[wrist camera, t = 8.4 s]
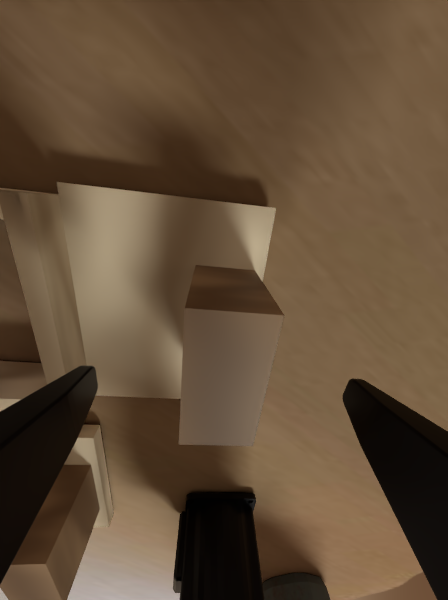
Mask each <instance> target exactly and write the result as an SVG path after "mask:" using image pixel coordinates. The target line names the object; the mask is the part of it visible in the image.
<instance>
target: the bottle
mask: <svg viewBox="0 0 448 600" xmlns="http://www.w3.org/2000/svg"><path fill="white" fill-rule="evenodd" d="M262 585H263V593H264V600H330V597H329V594H328V591H327V588H326V586H325V584H324V583H323V581H322V580H321V578H320V577H317V576H314V575H310V574H306V573H292V574H287V575H282V576H278V577H273V578H271V579H269V580H267V581H265V582H264V583H263V584H262Z"/></svg>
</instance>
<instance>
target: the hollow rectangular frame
mask: <svg viewBox="0 0 448 600" xmlns="http://www.w3.org/2000/svg"><path fill="white" fill-rule="evenodd" d="M113 514H114V512H113V506H112V499H111V493H110V486H109V480H108V474H107V467H106V461H105V454H104V448H103V442H102V435H101V429H100V425H83V427H82V429H81V432H80V434H79V436H78V438H77V441H76V443H75V445H74V447H73V448H72V450H71V452H70V454H69V456H68V458H67V460H66V462H65V464H64V465H63V467H62V469H61V471H60V473H59V475H58V477H57V479H56V481H55V482H54V484H53V486H52V488H51V490H50V492H49V494H48V496H47V498H46V499H45V501H44V503H43V505H42V507H41V509H40V511H39V513H38V515H37V516H36V518H35V520H34V522H33V524H32V526H31V528H30V530H29V532H28V533H27V535H26V537H25V539H24V541H23V543H22V545H21V547H20V549H19V550H18V552H17V554H16V556H15V558H14V560H13V562H12V564H11V566H10V567H9V569H8V571H7V573H6V575H5V577H4V579H3V581H2V583H1V584H0V588H1V589H2V591H3V592H4V594H5V595H6V596H7V598H8V599H9V600H67V598H68V595H69V592H70V590H71V587H72V584H73V581H74V579H75V576H76V573H77V570H78V568H79V565H80V562H81V559H82V557H83V554H84V551H85V548H86V546H87V543H88V540H89V537H90V535H91V532H92V529H93V527H109V526H110V523H111V520H112V517H113Z"/></svg>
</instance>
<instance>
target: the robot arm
mask: <svg viewBox="0 0 448 600" xmlns="http://www.w3.org/2000/svg"><path fill="white" fill-rule="evenodd" d="M97 389H98V382H97V375H96V369H95V367H94V366H87V365H81V366H79V367H77V368H75V369H73V370H72V371H70V372H68V373H66V374H65V375H63V376H61V377H59V378H58V379H56V380H54V381H52V382H51V383H49V384H47V385H46V386H44V387H42V388H40V389H39V390H37V391H35V392H33V393H32V394H30V395H28V396H26V397H25V398H23V399H21V400H19V401H18V402H16V403H14V404H12V405H11V406H9V407H7V408H5V409H4V410H2V411H0V584H1V583H2V581H3V579H4V577H5V575H6V573H7V571H8V569H9V567H10V566H11V564H12V562H13V560H14V558H15V556H16V554H17V552H18V550H19V549H20V547H21V545H22V543H23V541H24V539H25V537H26V535H27V533H28V532H29V530H30V528H31V526H32V524H33V522H34V520H35V518H36V516H37V515H38V513H39V511H40V509H41V507H42V505H43V503H44V501H45V499H46V498H47V496H48V494H49V492H50V490H51V488H52V486H53V484H54V482H55V481H56V479H57V477H58V475H59V473H60V471H61V469H62V467H63V465H64V464H65V462H66V460H67V458H68V456H69V454H70V452H71V450H72V448H73V447H74V445H75V443H76V441H77V438H78V436H79V434H80V432H81V429H82V427H83V424H84V422H85V419H86V417H87V415H88V412H89V410H90V407H91V405H92V402H93V400H94V398H95V395H96V393H97ZM343 402H344V405H345V408H346V410H347V413H348V415H349V418H350V420H351V423H352V425H353V428H354V430H355V433H356V435H357V438H358V440H359V443H360V445H361V447H362V449H363V451H364V453H365V455H366V457H367V459H368V461H369V463H370V465H371V467H372V469H373V471H374V473H375V475H376V477H377V479H378V481H379V483H380V485H381V487H382V489H383V491H384V494H385V496H386V498H387V500H388V502H389V504H390V506H391V508H392V510H393V512H394V514H395V516H396V518H397V520H398V522H399V524H400V526H401V528H402V530H403V532H404V534H405V536H406V538H407V540H408V542H409V544H410V546H411V548H412V550H413V552H414V554H415V556H416V558H417V560H418V562H419V564H420V566H421V568H422V570H423V572H424V574H425V575H426V578H427V580H428V582H429V584H430V586H431V588H432V590H433V592H434V594H435V596H436V598H437V600H448V431H446V430H444V429H443V428H441V427H439V426H438V425H436V424H435V423H433V422H431V421H430V420H428V419H426V418H425V417H423V416H421V415H420V414H418V413H417V412H415V411H413V410H412V409H410V408H408V407H407V406H405V405H404V404H402V403H400V402H399V401H397V400H395V399H394V398H392V397H391V396H389V395H387V394H386V393H384V392H382V391H381V390H379V389H378V388H376V387H374V386H373V385H371V384H369V383H368V382H366V381H365V380H362V379H350V380H349V382H348V384H347V386H346V389H345V391H344V393H343ZM255 503H256V498H255V495H254V494H252V493H191V494H188V495H187V497H186V510H185V511H182V513H181V514H180V520H179V530H178V540H177V549H176V559H175V569H174V582H173V590H174V591H175V593H180V600H264V593H263V585H262V578H261V570H260V563H259V555H258V548H257V540H256V533H255V525H254V518H253V510H254V507H255Z"/></svg>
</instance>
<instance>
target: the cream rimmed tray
mask: <svg viewBox="0 0 448 600" xmlns="http://www.w3.org/2000/svg"><path fill="white" fill-rule="evenodd" d="M57 188H58V194H53V193H44V192H35V191H27V190H18V189H9V188H1V187H0V219H2V220H4V222H5V225H6V229H7V233H8V237H9V241H10V245H11V248H12V252H13V256H14V260H15V264H16V267H17V271H18V275H19V279H20V283H21V287H22V290H23V294H24V298H25V302H26V306H27V309H28V313H29V317H30V321H31V325H32V329H33V332H34V336H35V340H36V344H37V348H38V351H39V355H40V359H41V363H29V362H9V361H0V411H2V410H4V409H5V408H7V407H9V406H11V405H12V404H14V403H16V402H18V401H19V400H21V399H23V398H25V397H26V396H28V395H30V394H32V393H33V392H35V391H37V390H39V389H40V388H42V387H44V386H46V385H47V384H49V383H51V382H52V381H54V380H56V379H58V378H59V377H61V376H63V375H65V374H66V373H68V372H70V371H72V370H73V369H75V368H77V367H79V366H81V365H87V366H94V367H95V369H96V375H97V382H98V389H97V393H96V395H95V396H118V397H144V398H170V399H181V402H180V425H179V445H225V446H253V444H254V440H255V436H256V432H257V427H258V423H259V419H260V415H261V411H262V407H263V402H264V398H265V394H266V390H267V386H268V382H269V378H270V373H271V369H272V365H273V361H274V357H275V353H276V348H277V344H278V340H279V336H280V332H281V328H282V324H283V319H284V314H283V313H282V311H281V310H280V308H279V306H278V305H277V303H276V302H275V300H274V299H273V297H272V296H271V294H270V293H269V291H268V290H267V288H266V287H265V285H264V284H263V276H264V271H265V266H266V260H267V255H268V249H269V244H270V239H271V233H272V228H273V222H274V217H275V212H276V208H271V207H263V206H254V205H246V204H237V203H229V202H221V201H212V200H204V199H196V198H187V197H179V196H171V195H162V194H154V193H145V192H137V191H129V190H120V189H112V188H104V187H95V186H87V185H79V184H70V183H62V182H57Z"/></svg>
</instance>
